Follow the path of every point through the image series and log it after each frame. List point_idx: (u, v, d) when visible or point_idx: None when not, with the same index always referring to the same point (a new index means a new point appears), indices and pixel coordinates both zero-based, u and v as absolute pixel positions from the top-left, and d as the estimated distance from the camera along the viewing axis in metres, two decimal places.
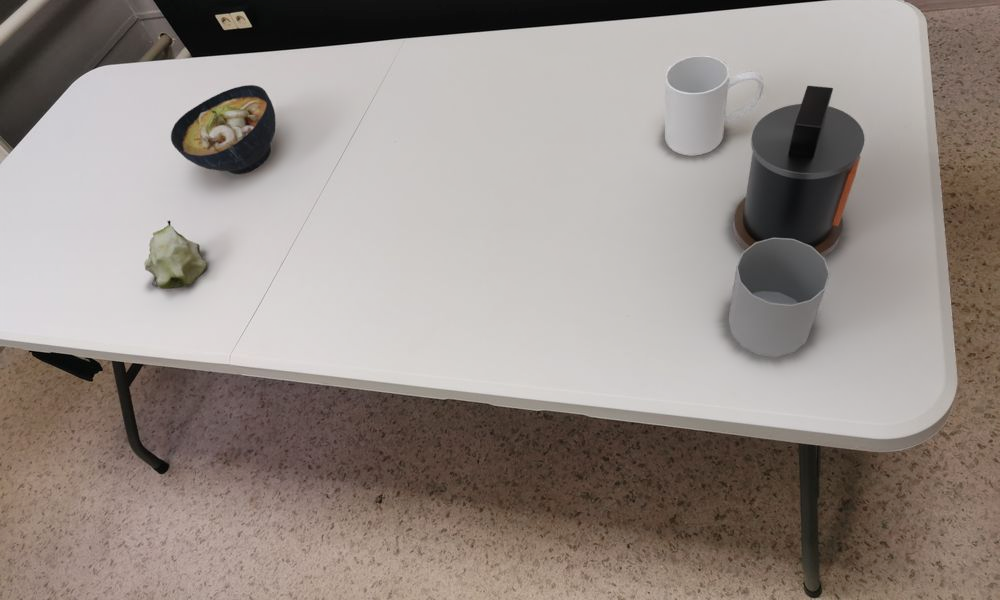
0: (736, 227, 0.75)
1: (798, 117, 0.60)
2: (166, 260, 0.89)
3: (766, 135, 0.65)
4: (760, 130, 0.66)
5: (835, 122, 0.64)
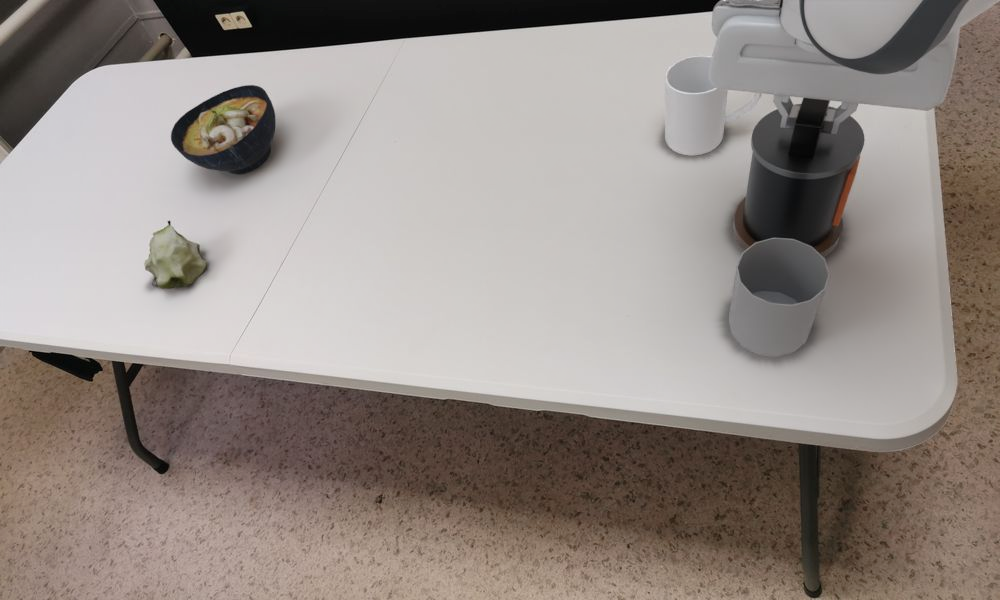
0: (736, 227, 0.75)
1: (798, 117, 0.60)
2: (166, 260, 0.89)
3: (766, 135, 0.65)
4: (760, 130, 0.66)
5: None
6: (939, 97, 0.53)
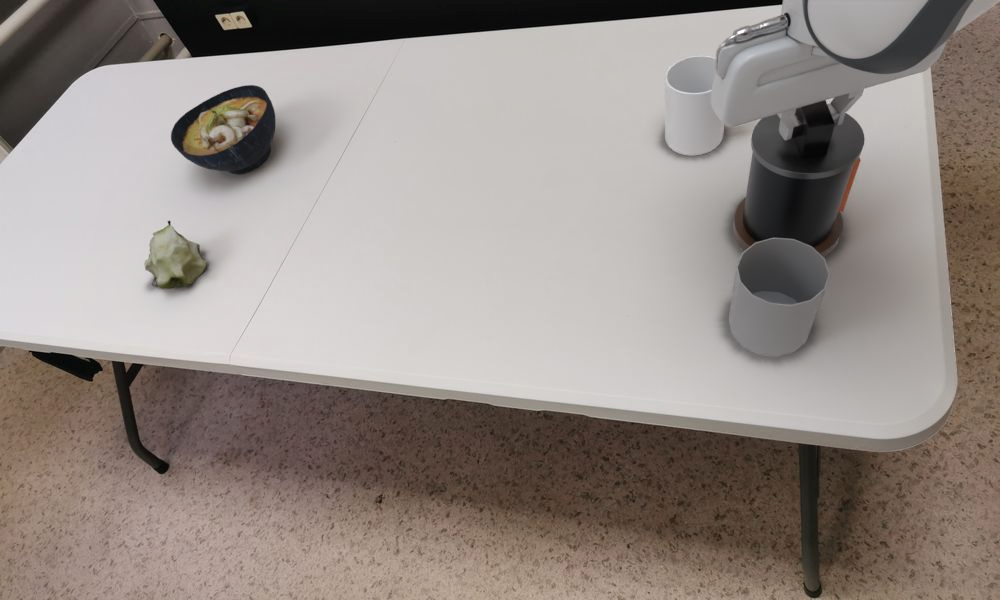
0: (736, 227, 0.75)
1: (807, 120, 0.60)
2: (166, 260, 0.89)
3: (768, 145, 0.64)
4: (759, 142, 0.65)
5: None
6: (939, 54, 0.55)
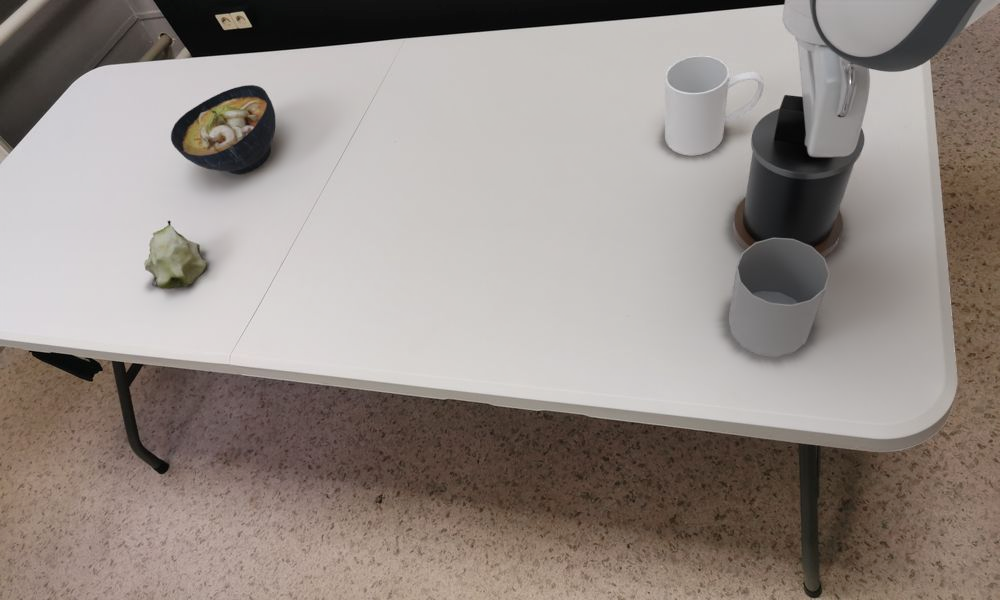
0: (736, 227, 0.75)
1: None
2: (166, 260, 0.89)
3: (804, 163, 0.62)
4: (795, 167, 0.62)
5: None
6: None
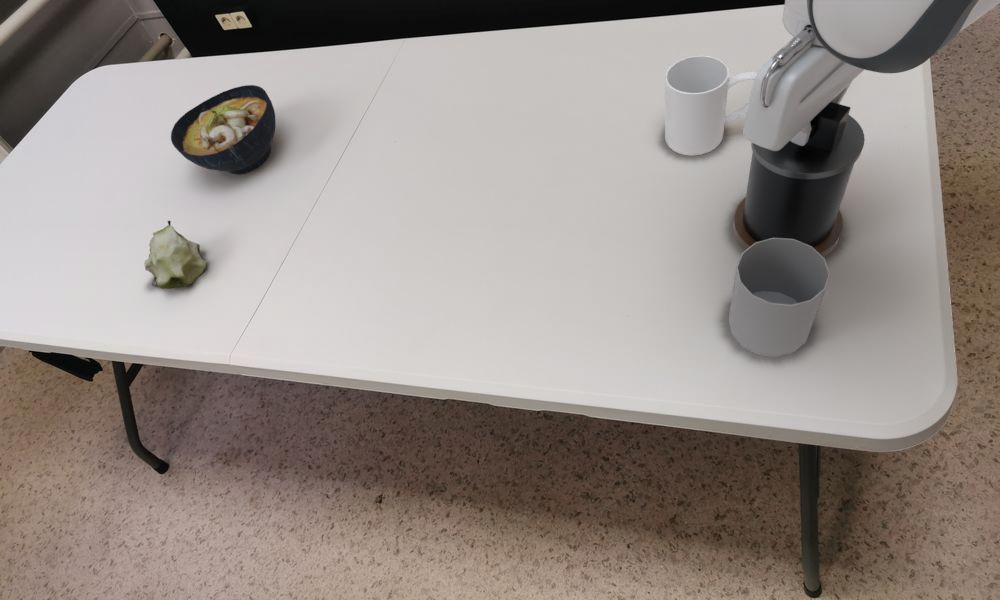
0: (736, 227, 0.75)
1: (829, 117, 0.59)
2: (166, 260, 0.89)
3: (794, 162, 0.62)
4: (784, 164, 0.62)
5: None
6: None
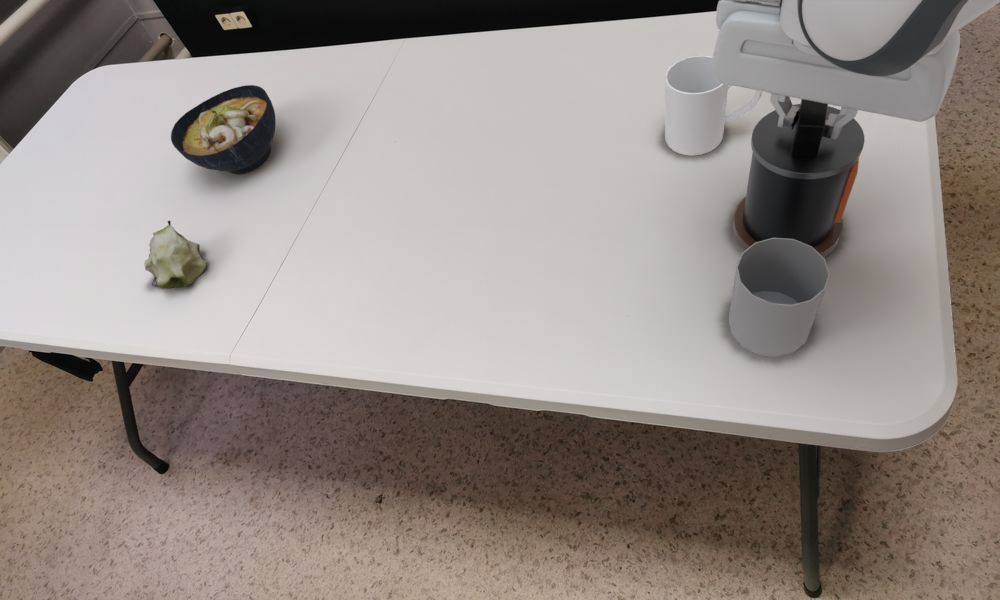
0: (736, 227, 0.75)
1: (800, 118, 0.60)
2: (166, 260, 0.89)
3: (766, 137, 0.65)
4: (759, 133, 0.65)
5: None
6: (931, 109, 0.52)
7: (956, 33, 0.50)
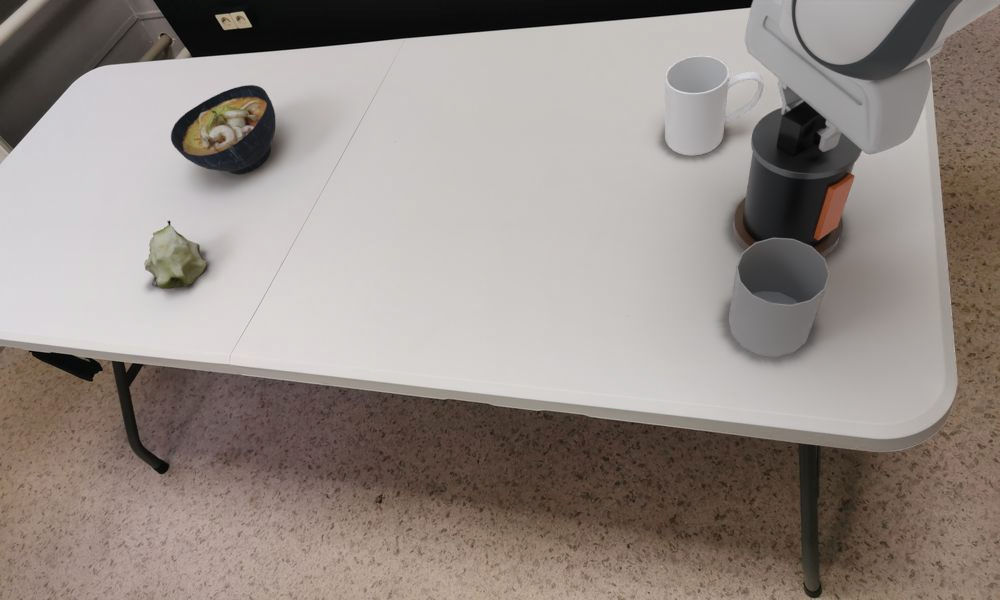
0: (736, 227, 0.75)
1: (790, 110, 0.61)
2: (166, 260, 0.89)
3: (773, 122, 0.66)
4: (772, 116, 0.66)
5: None
6: (871, 143, 0.52)
7: (924, 76, 0.49)
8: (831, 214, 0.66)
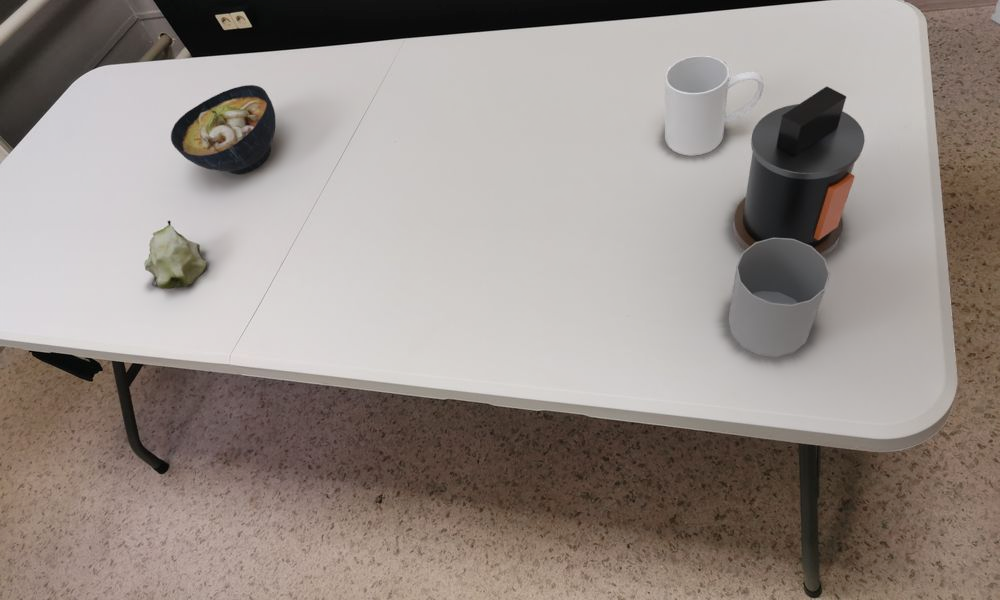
0: (736, 227, 0.75)
1: (790, 110, 0.61)
2: (166, 260, 0.89)
3: (773, 122, 0.66)
4: (772, 116, 0.66)
5: (844, 134, 0.63)
6: None
7: None
8: (831, 214, 0.66)
